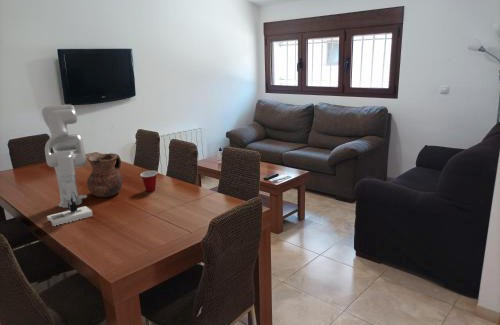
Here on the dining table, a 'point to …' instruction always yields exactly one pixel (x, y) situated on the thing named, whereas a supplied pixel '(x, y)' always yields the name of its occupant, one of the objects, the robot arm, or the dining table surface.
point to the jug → (104, 175)
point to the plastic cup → (149, 180)
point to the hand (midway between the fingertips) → (72, 209)
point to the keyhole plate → (70, 216)
